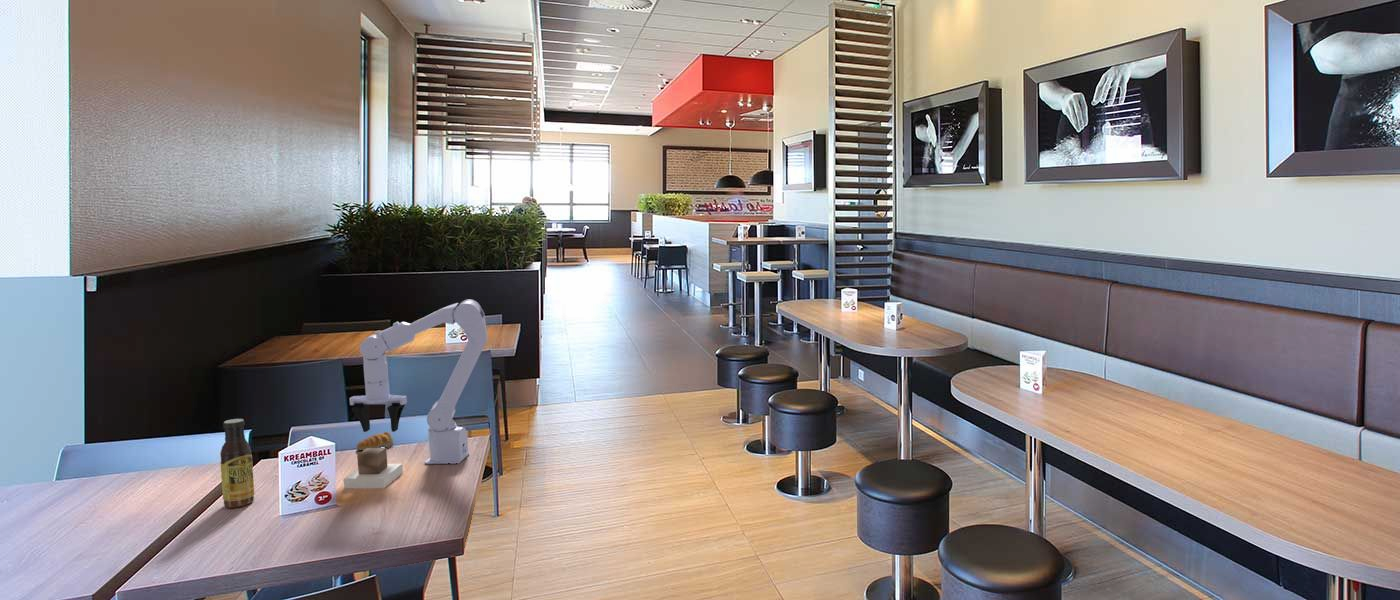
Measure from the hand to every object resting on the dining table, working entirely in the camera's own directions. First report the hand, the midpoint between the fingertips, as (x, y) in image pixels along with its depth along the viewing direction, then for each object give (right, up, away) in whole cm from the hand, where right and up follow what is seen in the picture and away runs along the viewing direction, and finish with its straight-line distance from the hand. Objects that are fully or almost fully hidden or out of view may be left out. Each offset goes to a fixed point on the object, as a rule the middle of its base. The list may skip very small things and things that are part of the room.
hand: (380, 430), depth 190 cm
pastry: (-8, -8, +16) cm, 20 cm away
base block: (+3, -11, -10) cm, 15 cm away
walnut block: (+3, -8, -10) cm, 13 cm away
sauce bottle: (-23, -13, -23) cm, 35 cm away
